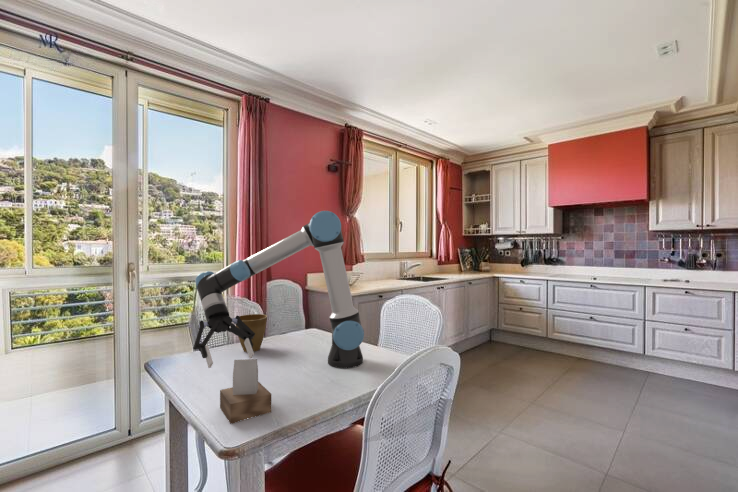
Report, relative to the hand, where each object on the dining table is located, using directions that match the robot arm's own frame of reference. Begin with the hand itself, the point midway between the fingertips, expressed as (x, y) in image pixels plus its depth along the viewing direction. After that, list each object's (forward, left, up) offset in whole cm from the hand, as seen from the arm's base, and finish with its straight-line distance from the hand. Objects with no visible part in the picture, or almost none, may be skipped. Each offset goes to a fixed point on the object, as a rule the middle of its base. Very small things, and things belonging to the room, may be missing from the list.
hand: (232, 360), depth 117 cm
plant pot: (-5, -55, -13) cm, 57 cm away
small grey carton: (-4, +9, -7) cm, 13 cm away
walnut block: (-4, +9, -13) cm, 17 cm away
